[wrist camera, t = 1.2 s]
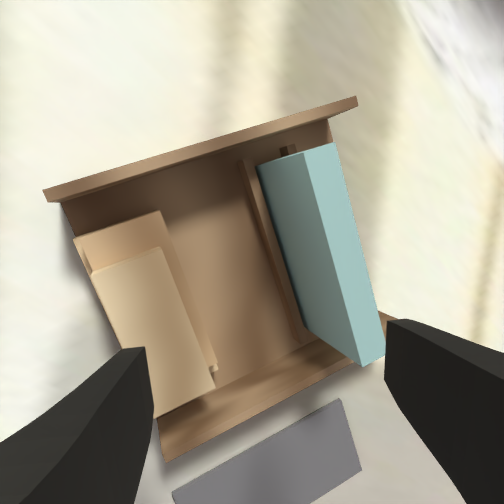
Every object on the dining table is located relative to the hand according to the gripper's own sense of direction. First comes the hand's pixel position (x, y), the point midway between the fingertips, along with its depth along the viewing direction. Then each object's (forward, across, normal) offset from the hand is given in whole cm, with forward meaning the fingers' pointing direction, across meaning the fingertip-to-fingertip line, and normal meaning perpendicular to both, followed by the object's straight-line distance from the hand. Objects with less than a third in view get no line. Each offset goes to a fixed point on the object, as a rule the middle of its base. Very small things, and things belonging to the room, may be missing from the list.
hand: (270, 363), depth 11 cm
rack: (+11, 0, 0) cm, 11 cm away
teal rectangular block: (+11, -3, 0) cm, 11 cm away
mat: (+10, -1, +15) cm, 18 cm away
